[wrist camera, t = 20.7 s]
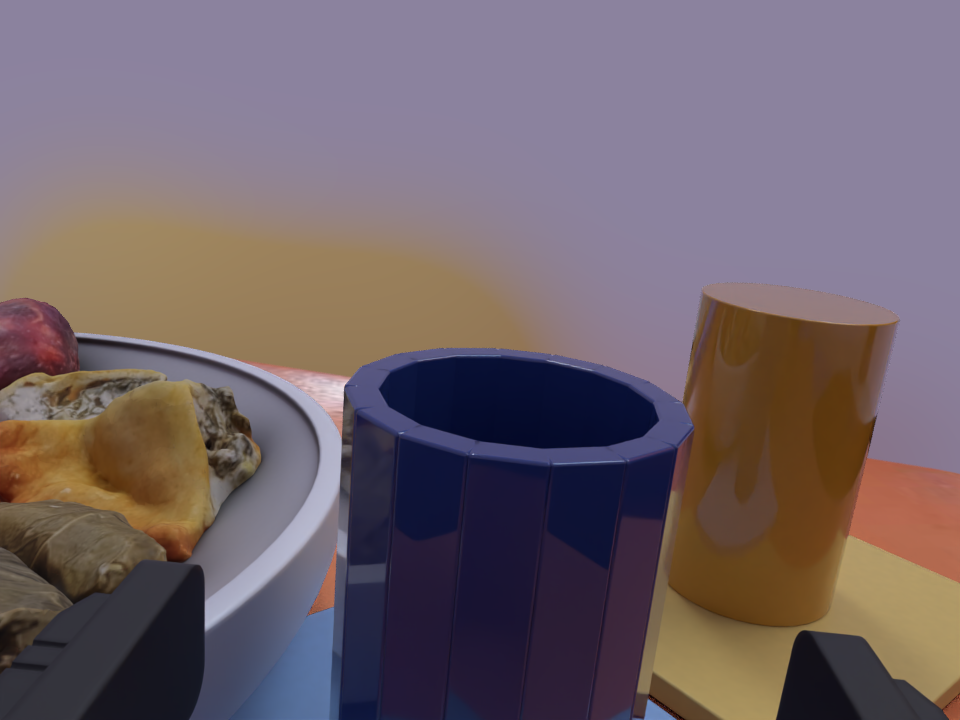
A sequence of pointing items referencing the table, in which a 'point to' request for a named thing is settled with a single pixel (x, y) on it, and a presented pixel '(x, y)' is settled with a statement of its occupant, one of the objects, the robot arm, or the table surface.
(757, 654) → the mustard mat
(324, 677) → the blue mat
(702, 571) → the glossy amber cylinder
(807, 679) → the robot arm
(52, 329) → the bowl
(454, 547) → the navy cup
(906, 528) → the table surface
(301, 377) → the table surface
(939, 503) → the table surface
